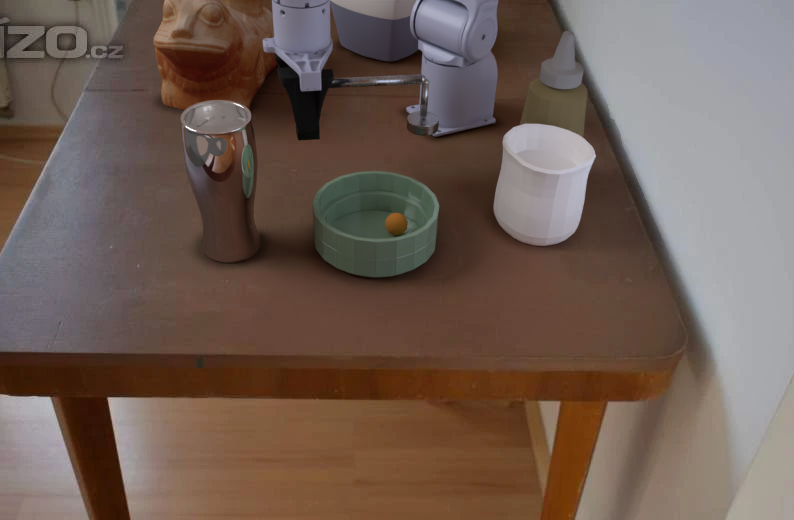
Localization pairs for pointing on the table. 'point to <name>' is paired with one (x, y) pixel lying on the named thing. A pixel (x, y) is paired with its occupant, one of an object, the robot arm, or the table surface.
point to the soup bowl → (374, 223)
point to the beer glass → (223, 176)
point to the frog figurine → (213, 51)
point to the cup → (542, 183)
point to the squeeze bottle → (558, 91)
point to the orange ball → (396, 224)
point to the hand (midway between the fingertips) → (305, 123)
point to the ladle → (416, 121)
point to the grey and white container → (375, 27)
